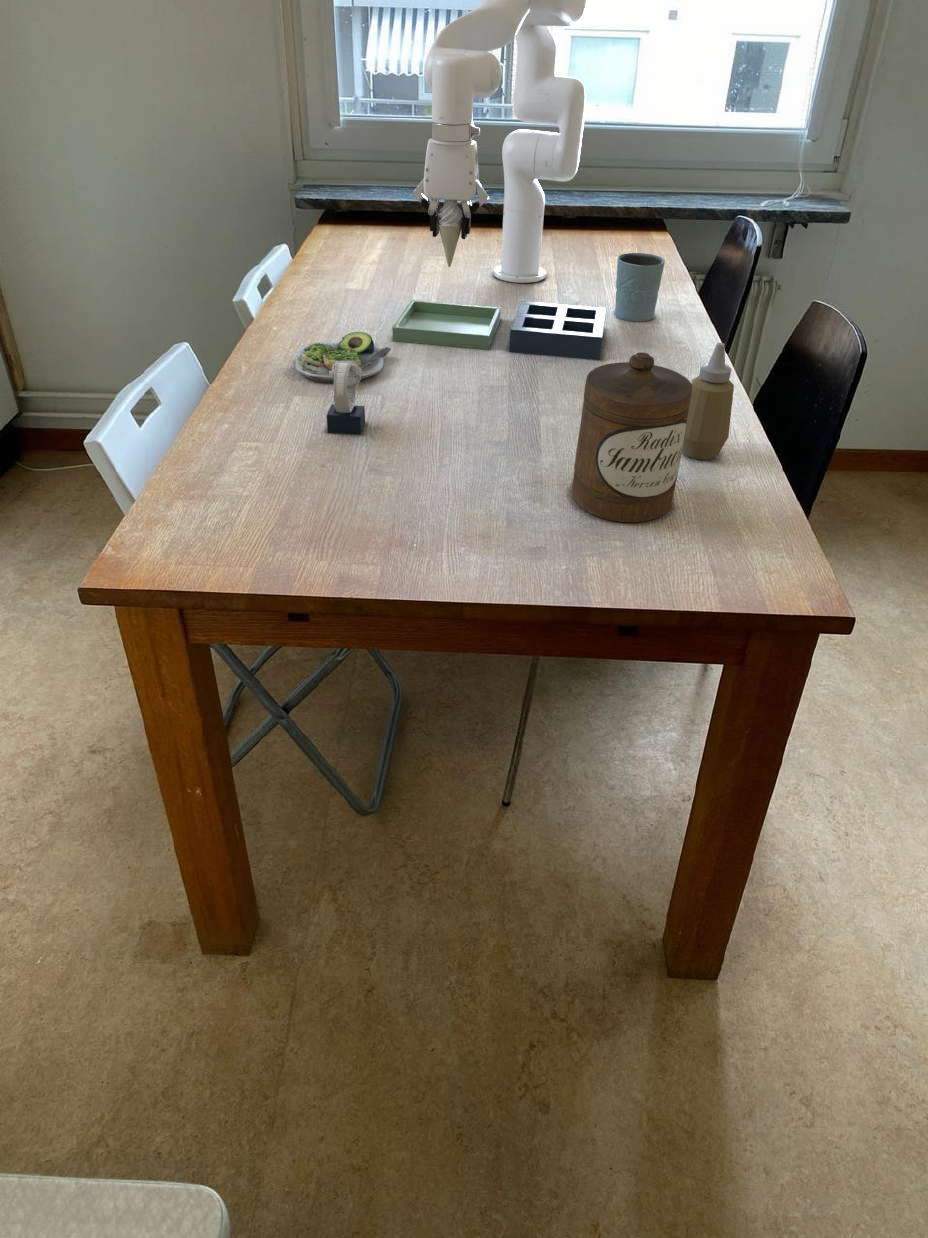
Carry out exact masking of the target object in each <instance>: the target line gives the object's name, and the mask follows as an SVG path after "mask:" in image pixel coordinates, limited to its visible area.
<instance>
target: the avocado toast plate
mask: <svg viewBox="0 0 928 1238" xmlns="http://www.w3.org/2000/svg"><path fill="white" fill-rule="evenodd" d="M341 339H342V340H340V341H339V342H324V341H323V342H313V343H309V344H305V345H304V346H301V347H300V348H299V349H298V351H297V353H296V359H295V362H294V363H295V364H294V365H295V371H296V372H298V373H299V374H301V375H302V376H304V377H305V378H307V379H309V380H312V381H314V382H318V383H326V384H327V383H328V384H329V383H330V384H331V383H333V384H334V379H333V377H332V376H330V375H329V371H332V367H333V365H334V364H335V363H337V362H340V361H348V362H352V363H355V364H356V365H358V366H359V367H360V368H361V370H362V376H361V380H363V379H366V378H369V377H372V376H375V375H377V374H379V373H380V372H381V371H382V369H383V368H384V367H383V366H384V358H385V357H386V356H387V355H388V354H389V353H390V352H391V351H392V348H390V347H389V346H385V347H384V348H383V347H380V346H378V345H376V344H375V343H374V340H373V337H372V336H371V335H370V334H369V333H367V332H364V331H354V332H350V333H347V334H345V336H342V337H341Z"/></svg>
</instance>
